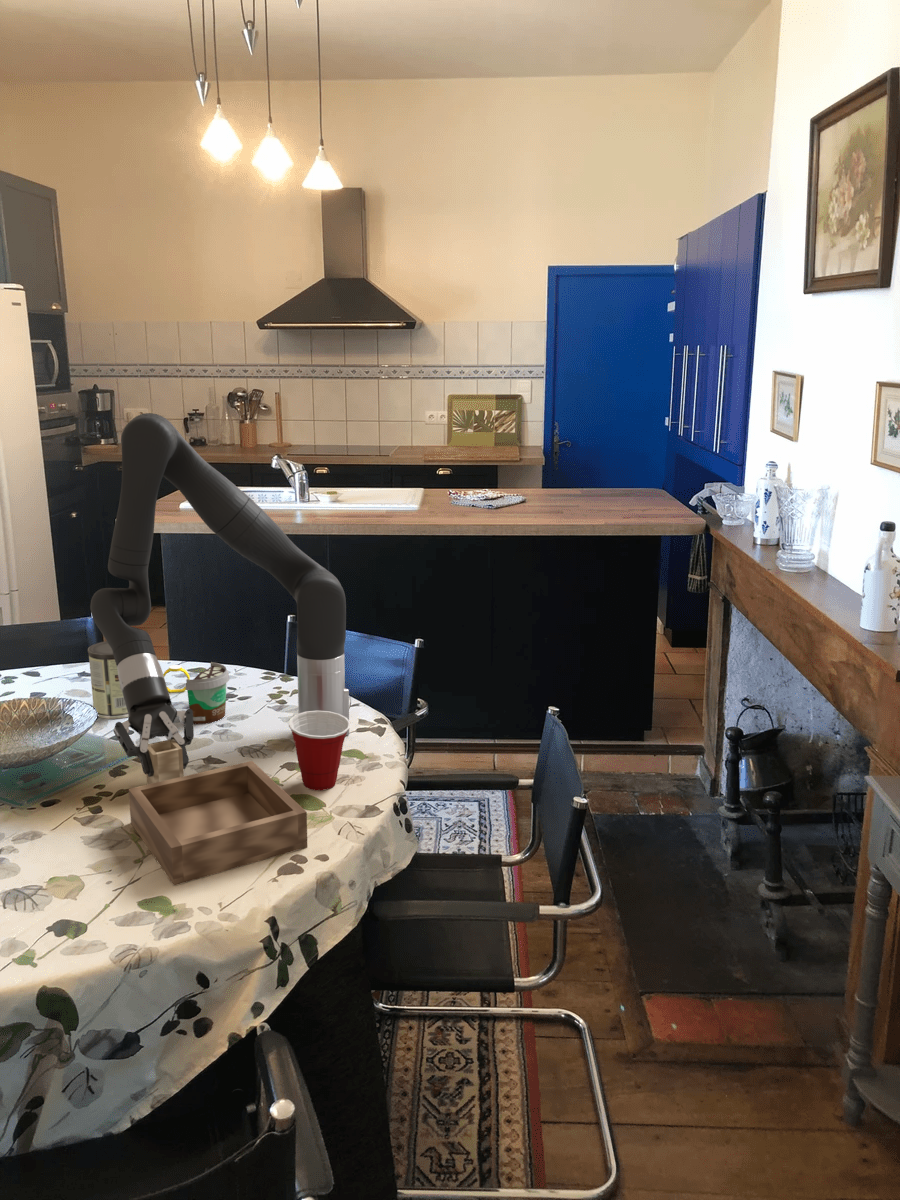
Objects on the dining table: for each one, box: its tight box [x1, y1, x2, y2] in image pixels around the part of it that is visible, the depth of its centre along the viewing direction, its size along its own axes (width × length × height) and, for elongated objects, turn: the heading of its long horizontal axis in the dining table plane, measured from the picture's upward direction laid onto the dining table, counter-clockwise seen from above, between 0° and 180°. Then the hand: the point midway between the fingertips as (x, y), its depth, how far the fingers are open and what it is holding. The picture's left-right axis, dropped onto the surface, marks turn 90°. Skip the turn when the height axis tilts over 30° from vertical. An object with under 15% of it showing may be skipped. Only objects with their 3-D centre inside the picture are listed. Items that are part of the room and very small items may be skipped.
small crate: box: [146, 739, 185, 785], centre depth 166 cm, size 5×5×8 cm
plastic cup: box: [288, 711, 352, 791], centre depth 168 cm, size 11×11×12 cm
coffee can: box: [87, 640, 129, 720], centre depth 200 cm, size 10×10×14 cm
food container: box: [185, 661, 231, 725], centre depth 198 cm, size 12×6×10 cm, turn 168°
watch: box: [163, 664, 191, 694], centre depth 213 cm, size 6×3×6 cm, turn 101°
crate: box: [127, 760, 308, 886], centre depth 151 cm, size 21×22×6 cm
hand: (168, 770), depth 164 cm, fingers closed on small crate, 5 cm apart
